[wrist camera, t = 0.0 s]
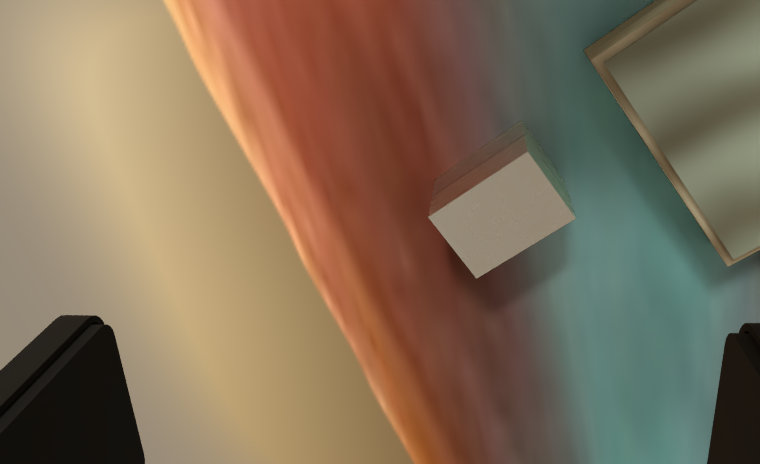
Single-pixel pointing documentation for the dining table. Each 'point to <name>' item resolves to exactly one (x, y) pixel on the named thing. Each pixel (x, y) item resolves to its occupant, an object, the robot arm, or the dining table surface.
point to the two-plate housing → (500, 200)
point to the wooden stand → (696, 107)
